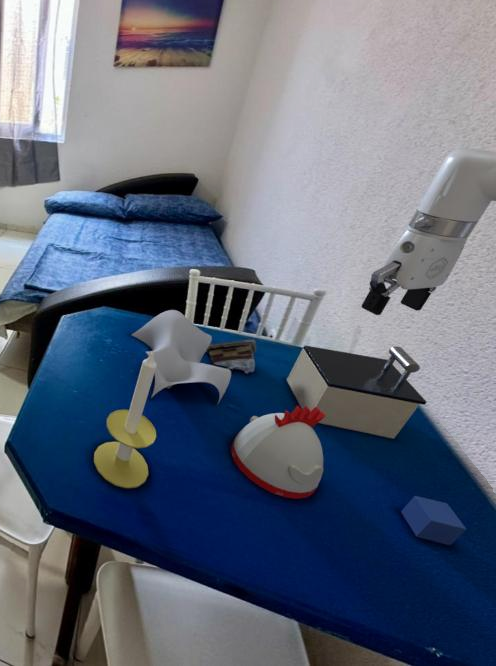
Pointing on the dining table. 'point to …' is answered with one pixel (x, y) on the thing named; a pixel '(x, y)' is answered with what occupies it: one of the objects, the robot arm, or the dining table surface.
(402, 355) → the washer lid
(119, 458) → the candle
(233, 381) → the dining table surface
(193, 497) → the dining table surface
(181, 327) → the sculpture
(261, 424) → the kitchen timer
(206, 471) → the dining table surface
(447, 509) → the blue block
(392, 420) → the open box
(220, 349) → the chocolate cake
